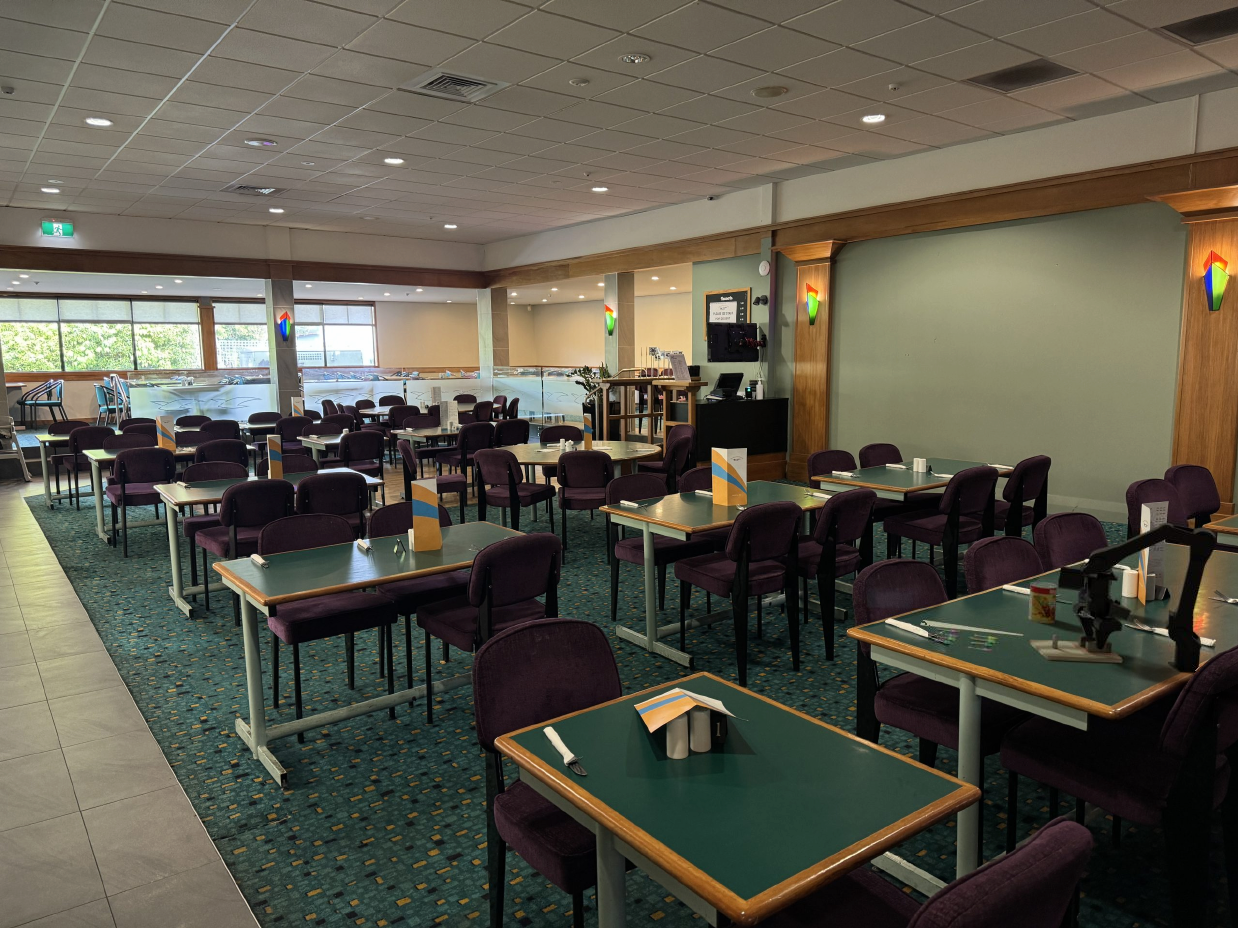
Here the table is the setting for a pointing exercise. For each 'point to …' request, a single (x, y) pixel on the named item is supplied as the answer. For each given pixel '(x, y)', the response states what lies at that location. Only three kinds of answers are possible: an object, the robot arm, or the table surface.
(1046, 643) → the board
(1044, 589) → the canned food
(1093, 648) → the c link
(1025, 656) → the table surface
